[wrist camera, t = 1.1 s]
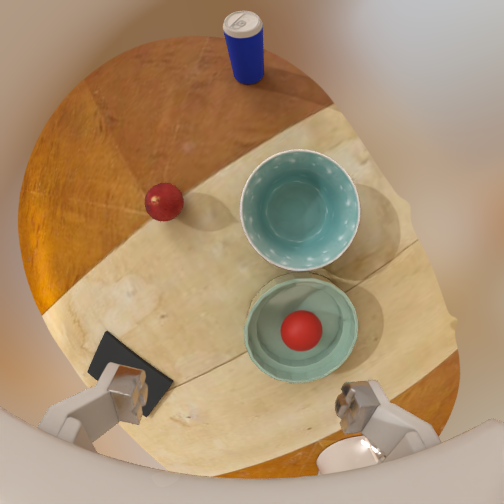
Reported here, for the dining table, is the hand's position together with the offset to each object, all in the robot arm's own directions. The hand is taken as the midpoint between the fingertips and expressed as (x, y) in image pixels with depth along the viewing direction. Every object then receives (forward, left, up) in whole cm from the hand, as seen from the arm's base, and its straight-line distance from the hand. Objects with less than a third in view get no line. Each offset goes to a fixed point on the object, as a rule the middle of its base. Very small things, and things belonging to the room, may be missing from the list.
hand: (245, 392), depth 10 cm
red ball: (-10, +4, -33) cm, 35 cm away
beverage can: (+20, -26, -34) cm, 47 cm away
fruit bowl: (-11, +4, -33) cm, 35 cm away
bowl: (+1, -10, -34) cm, 35 cm away
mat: (+9, +34, -33) cm, 48 cm away
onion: (+18, 0, -34) cm, 38 cm away
